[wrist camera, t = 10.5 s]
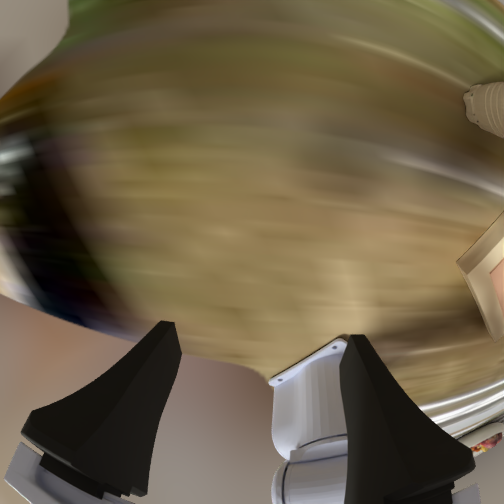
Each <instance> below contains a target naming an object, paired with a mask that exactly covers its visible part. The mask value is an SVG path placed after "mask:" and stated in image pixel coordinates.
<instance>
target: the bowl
mask: <svg viewBox="0 0 504 504" xmlns="http://www.w3.org/2000/svg"><path fill="white" fill-rule="evenodd" d="M503 436H504V424H503V423H500V422H495V423H491V424H488V425H485V426H483V427H481V428H479V429H477V430H475V431H473V432H471V433H469V434H467V435H465V436H463V437H461V438H459V439H458V441H459V442H461V443H462V444H464V445H466V446H467V447H469V448H471V450H472V453H473V457H475V456H477V455H479V454H480V453H482V452H486V451H488V450H489V449H490V448H492V447H494V446H495V445H496V444H497V443H499V442H500V441H501V439H502V437H503Z"/></svg>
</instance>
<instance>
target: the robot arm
mask: <svg viewBox="0 0 504 504" xmlns="http://www.w3.org/2000/svg"><path fill="white" fill-rule="evenodd" d="M181 356H182V352H181V348H180V344H179V340H178V336H177V332H176V328H175V323H174V322H169V321H162V320H161V321H160V322H159V323H158V324H157V325H156V326H155V327H154V328H153V329H152V330H151V331H150V332H149V333H148V334H147V335H146V336H145V337H144V338H143V339H142V340H141V341H140V342H139V343H138V344H136V345H135V346H134V347H133V348H132V349H131V350H130V351H129V352H128V353H127V354H126V355H125V356H124V357H123V358H121V359H120V360H119V361H118V362H117V363H116V364H115V365H113V366H112V367H111V368H110V369H109V370H107V371H106V372H105V373H104V374H102V375H101V376H100V377H98V378H97V379H95V380H94V381H93V382H91V383H90V384H88V385H86V386H85V387H83V388H81V389H80V390H78V391H76V392H75V393H73V394H71V395H69V396H67V397H65V398H63V399H61V400H59V401H57V402H54V403H52V404H50V405H47V406H44V407H42V408H39V409H36V410H33V411H32V412H31V413H30V415H29V417H28V419H27V421H26V423H25V424H24V427H23V428H22V431H21V434H22V435H23V436H24V437H25V438H26V439H27V440H28V441H30V442H31V443H32V444H34V445H35V446H36V447H37V448H39V449H40V450H42V451H43V452H44V454H43V456H41V455H39V454H38V453H36V452H35V451H34V450H32V449H31V448H29V447H28V446H27V445H25V444H24V443H22V442H20V443H19V445H18V447H17V449H16V451H15V454H14V456H13V458H12V461H11V463H10V465H9V467H8V470H7V472H6V475H5V477H4V480H5V481H6V482H7V483H8V484H9V485H10V486H12V487H13V488H14V489H15V490H16V491H17V492H18V493H19V494H21V495H22V496H23V497H24V498H25V499H26V500H28V501H29V502H30V503H31V504H135V503H132V502H129V501H127V500H124V499H122V498H120V497H121V494H123V495H125V496H128V497H129V496H130V494H133V495H136V496H139V497H142V496H145V495H147V491H148V480H149V471H150V464H151V458H152V453H153V447H154V442H155V438H156V433H157V429H158V425H159V421H160V418H161V415H162V412H163V410H164V407H165V404H166V402H167V399H168V397H169V394H170V391H171V389H172V386H173V384H174V381H175V378H176V375H177V372H178V368H179V364H180V360H181ZM269 384H270V385H271V386H273V387H275V388H274V405H273V420H272V439H273V442H274V445H275V447H276V449H277V451H278V452H279V454H280V455H281V456H283V457H284V458H285V459H287V460H285V461H284V462H282V464H281V465H280V467H279V468H278V469H277V470H276V472H275V474H274V477H273V482H272V502H273V504H481V501H480V493H479V488H478V483H475V484H473V485H471V486H469V487H467V488H465V489H463V490H461V491H458V492H456V493H454V494H451V490H452V489H453V488H454V487H455V486H454V481H456V480H458V479H459V478H461V477H463V476H465V475H466V474H468V473H470V472H471V471H472V470H474V468H475V467H476V465H475V461H474V457H473V453H472V450H471V448H469V447H467V446H466V445H464V444H462V443H461V442H459V441H458V440H456V439H455V438H453V437H452V436H450V435H449V434H448V433H446V432H445V431H444V430H442V429H441V428H440V427H439V426H438V425H437V424H435V423H434V422H433V421H432V420H431V419H430V418H429V417H428V416H427V415H425V414H424V413H423V412H422V411H421V410H420V409H419V407H418V406H417V405H416V404H415V403H414V402H413V401H412V400H411V399H410V398H409V396H408V395H407V394H406V393H405V392H404V390H403V389H402V388H401V386H400V385H399V384H398V383H397V381H396V380H395V379H394V377H393V376H392V374H391V373H390V372H389V370H388V369H387V367H386V366H385V365H384V363H383V362H382V360H381V359H380V357H379V356H378V354H377V353H376V351H375V350H374V348H373V347H372V345H371V343H370V342H369V340H368V339H367V337H366V336H365V335H364V334H361V335H350V337H349V340H348V342H346V341H345V340H344V339H342V338H338V339H336V340H334V341H333V342H331V343H330V344H328V345H327V346H325V347H323V348H322V349H320V350H319V351H317V352H316V353H314V354H312V355H311V356H309V357H308V358H306V359H304V360H303V361H301V362H299V363H298V364H296V365H294V366H293V367H291V368H289V369H287V370H286V371H284V372H282V373H280V374H279V375H277V376H275V377H273V378H271V379H270V380H269Z"/></svg>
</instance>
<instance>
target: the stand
mask: <svg viewBox="0 0 504 504" xmlns="http://www.w3.org/2000/svg"><path fill="white" fill-rule="evenodd" d="M456 263H457V265H458V267H459V269H460V271H461V273H462V275H463V277H464V278H465V280H466V282H467V284H468V287H469V289H470V291H471V293H472V295H473V297H474V299H475V301H476V304H477V306H478V308H479V310H480V313H481V315H482V318H483V320H484V322H485V325H486V327H487V330H488V332H489V334H490V335H491V337H492V339H493V340H494V342H497V341H498V340H499V339H500V338H501V337H502V336H503V335H504V212H503V213H502V214H501V215H500V216H499V217H498V219H497V220H496V221H495V222H494V223H493V224H492V225H491V227H490V228H489V229H488V230H487V231H486V232H485V233H484V234H483V235H482V236H481V237H480V238H479V240H478V241H477V242H476V243H475V244H474V245H473V246H472V247H471V248H470V249H469V250H468V251H467V252H466V253H465V254H464V255H463V256H462V257H461V258H460V259H459V260H458V261H457V262H456Z"/></svg>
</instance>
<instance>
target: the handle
mask: <svg viewBox="0 0 504 504" xmlns="http://www.w3.org/2000/svg"><path fill="white" fill-rule="evenodd" d="M463 100H464V102H465V105H466V116H467V118H468V119H469V121H470V122H472V123H475V124H478V126H479V127H480V128H481V129H483V130H485V131H488V132H491V133H493V134H495V135H497V136H499V137H501V138H503V139H504V82H495V83H489V84H485V85H483V84H479V85H474V86H471V88H470V91H469V92H467V93H464V97H463Z"/></svg>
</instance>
